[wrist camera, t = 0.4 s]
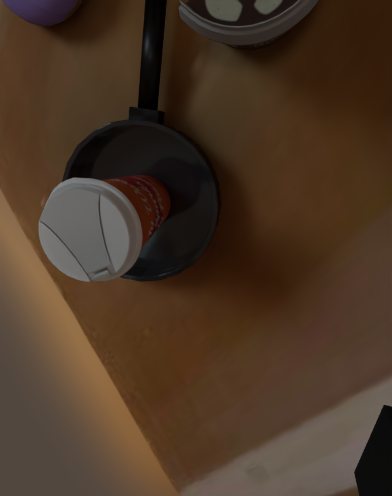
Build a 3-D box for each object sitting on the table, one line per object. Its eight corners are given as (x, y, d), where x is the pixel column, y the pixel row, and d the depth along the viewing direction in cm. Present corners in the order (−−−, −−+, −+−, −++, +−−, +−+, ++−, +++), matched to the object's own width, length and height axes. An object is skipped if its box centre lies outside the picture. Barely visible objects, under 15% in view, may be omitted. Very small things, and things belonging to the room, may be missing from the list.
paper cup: (192, 222, 37) (154, 269, 24) (129, 246, 39) (63, 301, 26) (162, 151, 36) (104, 160, 23) (98, 179, 38) (11, 202, 25)
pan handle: (145, -22, 31) (138, -32, 29) (177, -20, 31) (171, -30, 29) (135, 121, 35) (128, 120, 33) (163, 125, 34) (157, 124, 32)
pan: (77, 111, 36) (62, 109, 34) (232, 132, 34) (229, 131, 32) (74, 257, 41) (60, 265, 39) (209, 282, 39) (205, 294, 37)
